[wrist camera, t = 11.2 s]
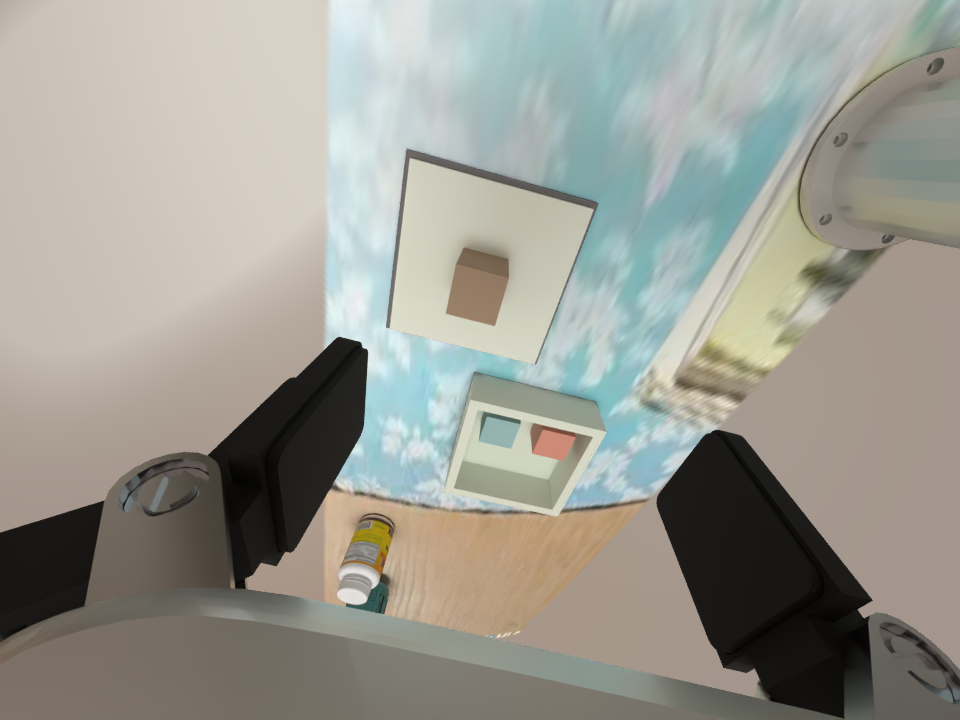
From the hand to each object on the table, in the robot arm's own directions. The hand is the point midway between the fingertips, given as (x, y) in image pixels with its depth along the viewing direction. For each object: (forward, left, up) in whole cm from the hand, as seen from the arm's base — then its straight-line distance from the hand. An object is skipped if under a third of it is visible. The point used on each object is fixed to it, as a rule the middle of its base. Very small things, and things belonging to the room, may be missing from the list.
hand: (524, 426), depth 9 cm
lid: (+2, +3, -24) cm, 24 cm away
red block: (-10, +18, -24) cm, 31 cm away
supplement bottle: (+8, +45, -25) cm, 52 cm away
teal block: (-4, +18, -24) cm, 30 cm away
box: (-7, +21, -24) cm, 33 cm away
